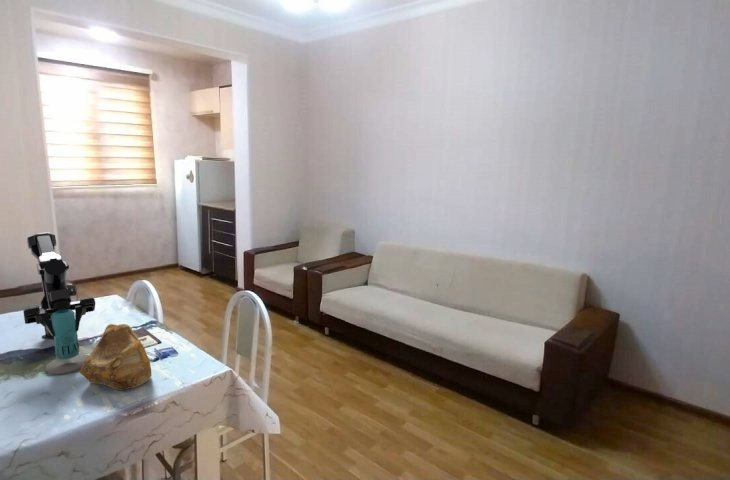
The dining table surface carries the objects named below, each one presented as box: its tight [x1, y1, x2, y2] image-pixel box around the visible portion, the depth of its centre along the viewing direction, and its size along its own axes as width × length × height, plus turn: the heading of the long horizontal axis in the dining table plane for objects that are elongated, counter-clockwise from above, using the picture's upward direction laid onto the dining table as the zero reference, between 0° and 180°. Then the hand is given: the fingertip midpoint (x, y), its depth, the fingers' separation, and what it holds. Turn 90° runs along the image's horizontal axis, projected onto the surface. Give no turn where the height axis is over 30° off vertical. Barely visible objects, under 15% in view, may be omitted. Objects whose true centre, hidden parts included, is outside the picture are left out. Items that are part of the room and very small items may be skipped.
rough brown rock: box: [79, 323, 152, 392], centre depth 126 cm, size 23×17×15 cm
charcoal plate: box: [45, 353, 90, 376], centre depth 136 cm, size 12×12×1 cm
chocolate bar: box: [132, 327, 162, 348], centre depth 157 cm, size 9×1×18 cm
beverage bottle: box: [51, 300, 80, 360], centre depth 134 cm, size 6×7×20 cm
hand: (65, 333), depth 133 cm, fingers closed on beverage bottle, 6 cm apart
